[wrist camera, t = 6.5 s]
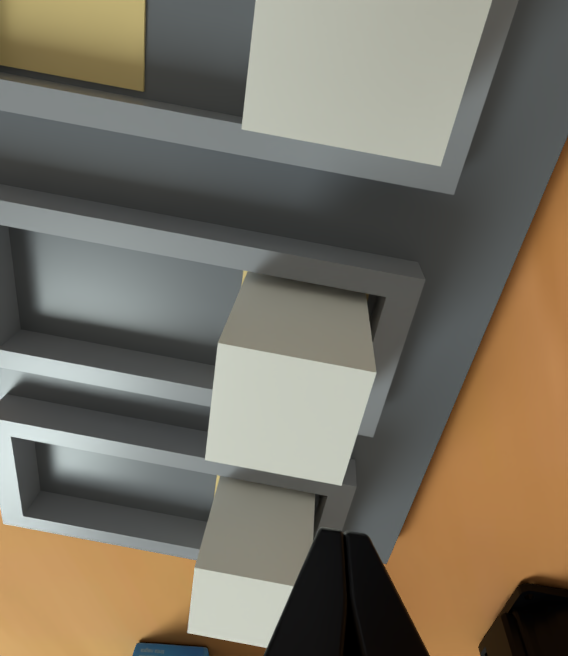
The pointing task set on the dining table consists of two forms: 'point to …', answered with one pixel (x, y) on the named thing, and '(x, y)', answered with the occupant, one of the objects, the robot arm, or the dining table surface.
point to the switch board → (233, 257)
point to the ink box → (168, 650)
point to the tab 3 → (249, 560)
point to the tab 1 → (362, 72)
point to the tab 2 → (291, 379)
